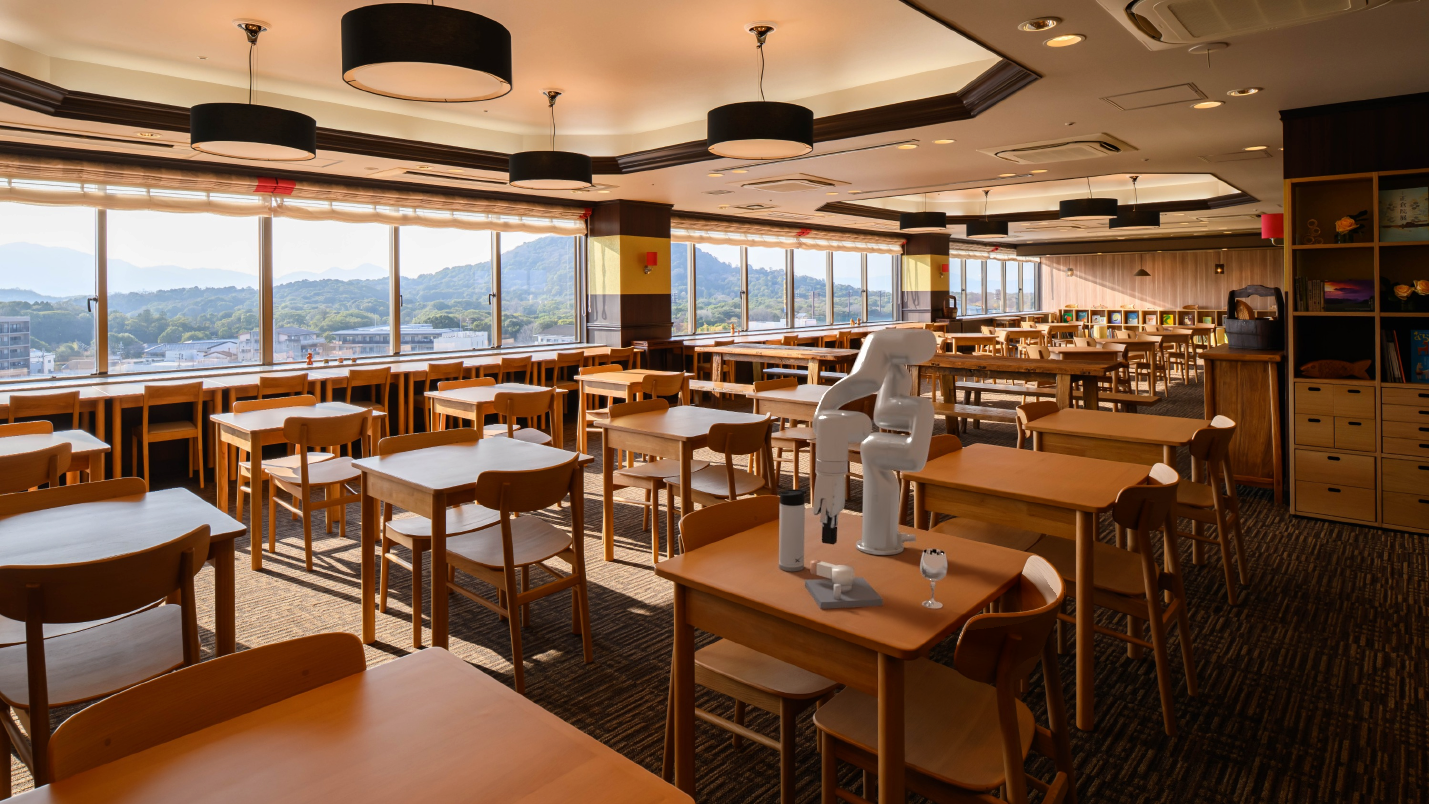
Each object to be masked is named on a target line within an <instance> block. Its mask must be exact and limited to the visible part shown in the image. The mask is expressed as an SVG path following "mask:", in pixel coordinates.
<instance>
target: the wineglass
mask: <svg viewBox="0 0 1429 804" xmlns="http://www.w3.org/2000/svg"><path fill="white" fill-rule="evenodd" d="M947 560H948V559H947V554H946V551H944V550H943V549H938V548H925V549H923V551H922V554H921V557H920V564H919V570H920V573H921V576H922V577H924V578H925V580H926V579H927V580H929V581H931V582H930V589H931V598H930V599H929V600H925V601H922V602H921V605H922V606H923V607H925V608H927V609H933V610H934V609H935V610H937V609H941V608H943V605H944V604H943V603H941V602H939V601H937V600H935V597H934V596H935V593H934V592H935V588H936V582H937V581H941V580H943V579H944V578H945V577H946V575H947V574H948V561H947Z"/></svg>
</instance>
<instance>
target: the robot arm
mask: <svg viewBox="0 0 1429 804" xmlns="http://www.w3.org/2000/svg"><path fill="white" fill-rule="evenodd" d="M863 340H864V341H863V343H862V345H861V347H860V349H859V352H858V354H857V356H856V359H855V362H854V364H853V366H852V368H851V371H850V372H849V374H848V375H846V376H844V377H843V378H841V379H840V380H838V381H837V382H835V384H833V385H832V386H830V387H829V388H828V389H827V390H826V391H825V392H824V393H823V395H822V396H821V398H820V400H819V402H818V405H817V406H816V410H815V412H814V414H813V418H812V424H811V425H812V431H813V434H814V436H816V438H815V439H816V440H815V441H816V443H815V468H814V469H815V474H816V477H815V481H814V482H815V483H814V491H813V503H812V504H813V505H812V514H813V515H814V516H818V515H820V517H819V522H820V523H821V527H822V528H821V543H822V544H827V545H836V544H837V542H838V523H839V515H840V512H842V511H843V510H844V509H845V504H846V475H848V470H849V469H848V467H849V443H850V444H860V448H859V449H860V452H859V453H860V459H861V463H862V464H861V466H862V477H863V478H862V480H863V481H862V482H863V483H862V487H863V488H862V526H861V527H862V530H861V539H859V540H856V542H855V547H856V549H857V550H859V551H861V552H863V553H864V554H869V555H878V556H889V555H890V556H892V555H897V554H900V553H902V552H903V551H904V547H905V546H904V544H905V542H908V543H911V542H912V543H913V542H914V543H915V542H916V540H917V539H916V535H915V534H908V533H907V532H902V533H901V532H900V531H899V518H900V517H899V515H900V513H899V512H900V509H899V508H900V484H899V480H898V477H897V476H896V474H895V473H894V471H898V472H900V471H901V472H906V473H919V472H921V471H923V469H924V468H925V466H926V463H927V461H928V456H929V451H930V445H931V440H932V437H933V436H932V434H933V431H934V424H935V417H936V416H935V407H934V404H933V402H932V400H930V398H927V397H924V396H917V395H911V392H912V386H913V377H912V376H911V373H910V372H909V369H908V368H907V367H906V366H913V365H918V364H922V363H927V362H928V361H930V360H931V359H932V358H933V357H934V356H935V354H936V351H937V348H938V347H937V346H938V341H937V337H936V335H935V334H934V332H933V331H932V330H931V329H928V328H927V329H926V328H895V327H894V328H891V327H890V328H882V329H879V330H877V331H876V330H875V331H873V332H871V333H869V334H868V335H866V337H865V338H864V339H863ZM875 393H877V395H876V399H875V404H874V410H873V423H874V424H875V425H876V426H877V427H879V428H881V429H883V430H891V431H900V432H908V433H909V432H910V435H908V434H900V433H898V434H897V433H892V432H881V431H880V432H879V431H878V432H875V431H874V432H872V430H873V424H872V420H871V417H869V415H868V414H866V413H864V412H860V411H855V410H854V411H853V410H843V409H839V408H841V407H842V406H844V405H845V404H848V403H850V402H853V401H855V400H859V399H862V398H864V397H865V398H866V397H869V396H871V395H873V394H875Z"/></svg>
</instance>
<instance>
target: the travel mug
mask: <svg viewBox="0 0 1429 804" xmlns="http://www.w3.org/2000/svg"><path fill="white" fill-rule="evenodd" d="M805 495H807V489H798V488H797V489H786V490H783V491H781V492H780V493H779V517H778V518H779V522H778V523H779V528H778V529H779V531H778V533H779V534H778V535H779V536H778V538H779V539H778V541H779V542H778V543H779V545H778V547H779V548H778V560H779V561H778V568H779V569H780V570H782V571H785V572H793V573H794V572H800V571H802V570H803V569H804V568H805V523H806V522H805V519H806V518H805V516H806V515H805V512H806V506H805V505H806V502H805V497H806V496H805Z"/></svg>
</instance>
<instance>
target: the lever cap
mask: <svg viewBox="0 0 1429 804" xmlns="http://www.w3.org/2000/svg"><path fill="white" fill-rule="evenodd" d="M809 566H810V571H809V573H810V574H811V575H816V576H820V577H823V578H825V579H832V582H833V583H834V584H840V585H851V584H853V583H854V577H855V568H854V567H852V566H851V565H846V564H845V565H844V564H833V563H830V562H826V561H821V560H820V559H811V560H810V565H809Z"/></svg>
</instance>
